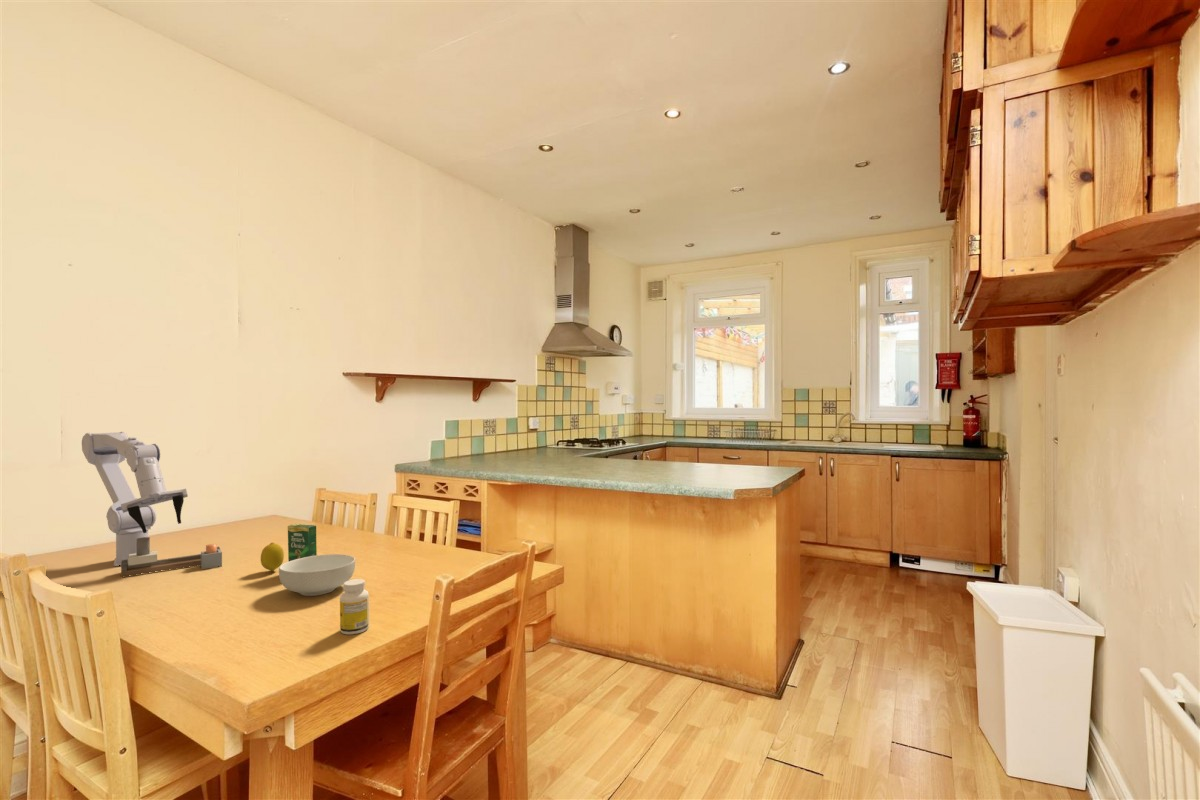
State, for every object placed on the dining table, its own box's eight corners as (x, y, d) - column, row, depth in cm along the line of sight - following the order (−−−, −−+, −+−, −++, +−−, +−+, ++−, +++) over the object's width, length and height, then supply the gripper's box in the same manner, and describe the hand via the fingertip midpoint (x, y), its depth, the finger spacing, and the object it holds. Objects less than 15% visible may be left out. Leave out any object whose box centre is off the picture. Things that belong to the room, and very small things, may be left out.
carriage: (129, 561, 152) (129, 538, 152) (156, 557, 156) (156, 535, 156) (128, 565, 148) (128, 541, 148) (157, 561, 152) (157, 538, 152)
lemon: (273, 575, 148) (273, 545, 148) (255, 574, 150) (255, 544, 150) (288, 569, 154) (288, 540, 154) (271, 568, 155) (271, 539, 155)
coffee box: (286, 573, 150) (286, 525, 150) (296, 570, 153) (296, 522, 153) (308, 576, 147) (308, 527, 147) (317, 573, 150) (317, 525, 150)
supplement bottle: (345, 625, 115) (345, 578, 115) (372, 624, 115) (372, 577, 115) (335, 636, 109) (335, 586, 109) (363, 634, 110) (363, 585, 110)
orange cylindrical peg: (205, 557, 157) (205, 544, 157) (216, 555, 159) (216, 543, 159) (206, 559, 155) (206, 546, 155) (217, 557, 157) (217, 545, 157)
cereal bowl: (370, 583, 141) (370, 556, 141) (317, 606, 126) (317, 575, 126) (318, 577, 147) (318, 550, 147) (262, 598, 131) (262, 568, 131)
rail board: (121, 572, 151) (121, 559, 151) (218, 557, 165) (218, 546, 165) (121, 577, 147) (121, 564, 147) (220, 562, 161) (220, 550, 161)
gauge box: (200, 565, 157) (200, 551, 157) (220, 562, 160) (220, 549, 160) (202, 569, 154) (202, 555, 154) (221, 566, 157) (221, 552, 157)
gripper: (115, 485, 149) (127, 531, 145) (181, 470, 158) (194, 513, 155) (118, 494, 154) (129, 539, 150) (182, 480, 163) (194, 521, 160)
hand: (162, 527), depth 153 cm, fingers open, 7 cm apart
